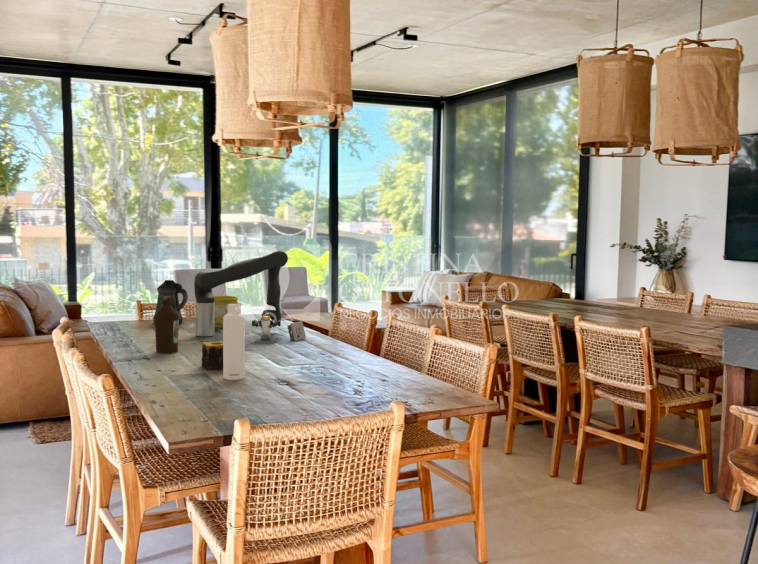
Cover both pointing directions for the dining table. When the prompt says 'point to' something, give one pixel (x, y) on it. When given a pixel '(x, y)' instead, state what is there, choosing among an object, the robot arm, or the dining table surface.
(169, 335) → the olive oil
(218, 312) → the flowerpot
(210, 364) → the yellow black spotted box
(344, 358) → the dining table surface
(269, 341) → the mat
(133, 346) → the dining table surface
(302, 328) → the electrical switch
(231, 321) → the bottle
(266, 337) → the canister
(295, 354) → the dining table surface
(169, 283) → the beer stein
